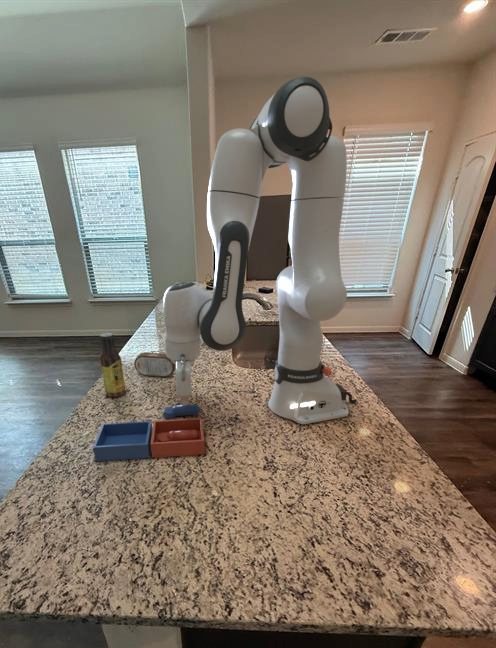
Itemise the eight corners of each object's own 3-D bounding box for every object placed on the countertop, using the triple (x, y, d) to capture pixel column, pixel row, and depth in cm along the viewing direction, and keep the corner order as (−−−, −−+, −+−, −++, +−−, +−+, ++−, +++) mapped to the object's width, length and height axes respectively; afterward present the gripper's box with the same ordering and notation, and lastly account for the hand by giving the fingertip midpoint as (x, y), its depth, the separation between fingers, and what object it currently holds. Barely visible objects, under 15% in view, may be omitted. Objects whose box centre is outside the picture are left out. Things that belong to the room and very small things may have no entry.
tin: (177, 374, 113) (175, 353, 109) (175, 378, 110) (173, 356, 106) (138, 372, 115) (135, 351, 112) (134, 376, 113) (131, 354, 109)
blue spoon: (199, 410, 91) (199, 401, 90) (200, 417, 88) (199, 408, 87) (164, 412, 91) (163, 403, 89) (163, 419, 88) (162, 410, 86)
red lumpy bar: (199, 436, 80) (198, 426, 78) (199, 444, 76) (199, 435, 75) (158, 438, 79) (157, 428, 78) (157, 447, 76) (156, 437, 74)
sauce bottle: (120, 399, 98) (110, 338, 89) (102, 397, 99) (90, 337, 90) (129, 389, 104) (120, 331, 95) (112, 387, 105) (101, 330, 96)
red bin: (202, 430, 83) (201, 417, 81) (204, 454, 74) (204, 440, 72) (155, 433, 82) (153, 420, 80) (152, 457, 73) (150, 444, 71)
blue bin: (152, 433, 82) (151, 420, 80) (149, 457, 73) (147, 444, 71) (104, 436, 81) (102, 423, 79) (95, 461, 73) (92, 447, 71)
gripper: (196, 364, 71) (197, 415, 78) (193, 335, 89) (194, 378, 96) (169, 364, 71) (171, 416, 77) (171, 336, 89) (173, 379, 95)
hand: (184, 395), depth 87 cm, fingers open, 8 cm apart
